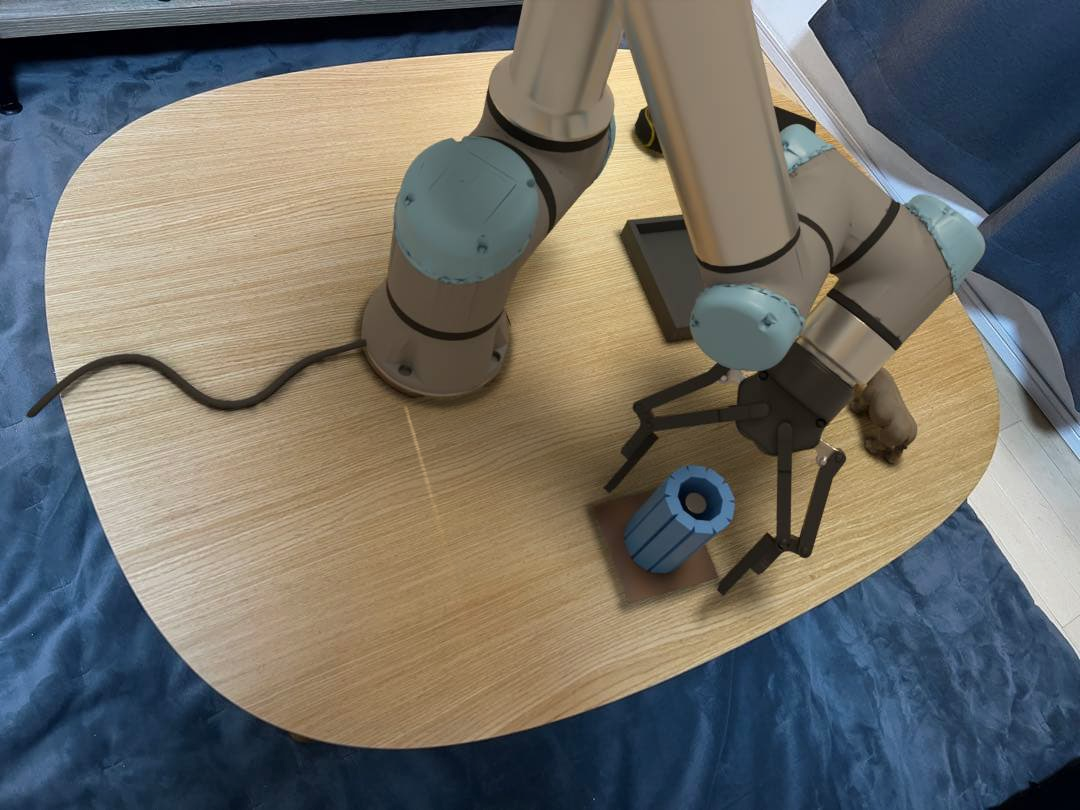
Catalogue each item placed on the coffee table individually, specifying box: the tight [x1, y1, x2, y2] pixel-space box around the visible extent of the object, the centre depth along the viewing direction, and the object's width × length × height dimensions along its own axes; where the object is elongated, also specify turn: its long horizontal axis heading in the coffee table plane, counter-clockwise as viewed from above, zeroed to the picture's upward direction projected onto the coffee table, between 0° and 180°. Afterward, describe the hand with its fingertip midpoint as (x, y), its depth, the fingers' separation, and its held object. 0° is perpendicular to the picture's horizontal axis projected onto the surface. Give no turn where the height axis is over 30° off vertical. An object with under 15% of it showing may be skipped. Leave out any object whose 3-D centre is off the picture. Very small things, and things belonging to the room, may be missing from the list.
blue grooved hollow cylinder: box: [624, 464, 736, 574], centre depth 78 cm, size 6×7×11 cm
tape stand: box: [592, 491, 720, 604], centre depth 79 cm, size 10×10×11 cm
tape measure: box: [634, 105, 663, 155], centre depth 111 cm, size 7×7×4 cm
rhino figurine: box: [849, 366, 918, 464], centre depth 96 cm, size 4×14×6 cm, turn 12°
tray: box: [619, 213, 704, 342], centre depth 101 cm, size 16×16×3 cm
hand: (664, 538), depth 78 cm, fingers open, 13 cm apart
